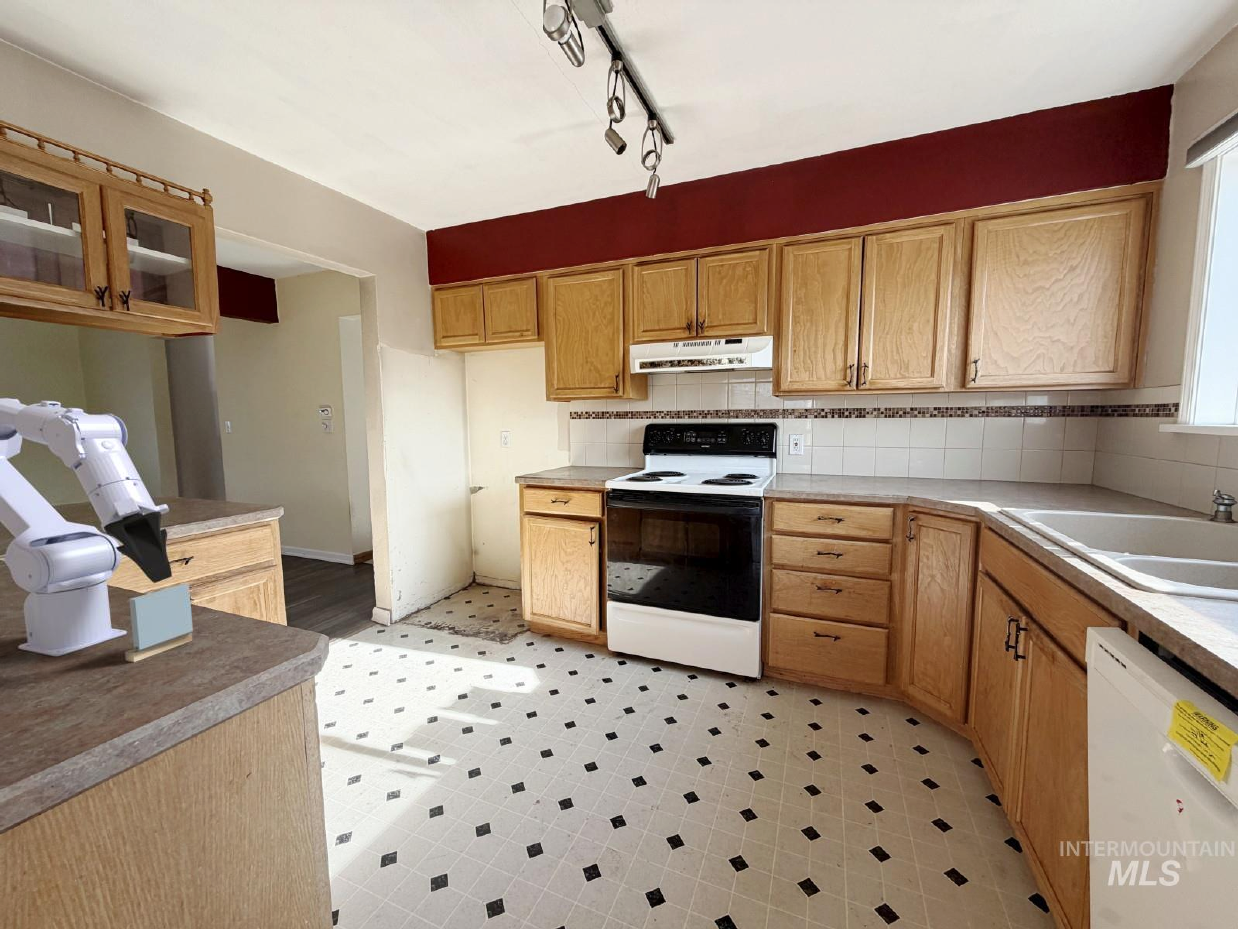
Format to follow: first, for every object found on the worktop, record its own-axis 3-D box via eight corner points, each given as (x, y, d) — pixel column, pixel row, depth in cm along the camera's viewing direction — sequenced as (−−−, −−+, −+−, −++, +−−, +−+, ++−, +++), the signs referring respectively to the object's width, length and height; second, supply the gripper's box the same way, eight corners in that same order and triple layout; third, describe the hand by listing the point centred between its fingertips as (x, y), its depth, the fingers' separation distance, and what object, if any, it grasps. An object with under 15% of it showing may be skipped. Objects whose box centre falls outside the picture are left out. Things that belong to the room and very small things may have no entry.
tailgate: (134, 651, 67) (129, 599, 66) (187, 632, 73) (183, 584, 72) (140, 652, 66) (135, 599, 66) (193, 633, 73) (188, 584, 72)
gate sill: (125, 660, 67) (125, 652, 67) (184, 639, 74) (183, 631, 74) (134, 662, 66) (133, 653, 66) (192, 640, 73) (191, 632, 73)
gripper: (147, 460, 67) (193, 547, 66) (158, 496, 77) (197, 571, 76) (74, 479, 62) (123, 572, 61) (96, 514, 72) (138, 594, 71)
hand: (160, 573), depth 68 cm, fingers open, 7 cm apart
